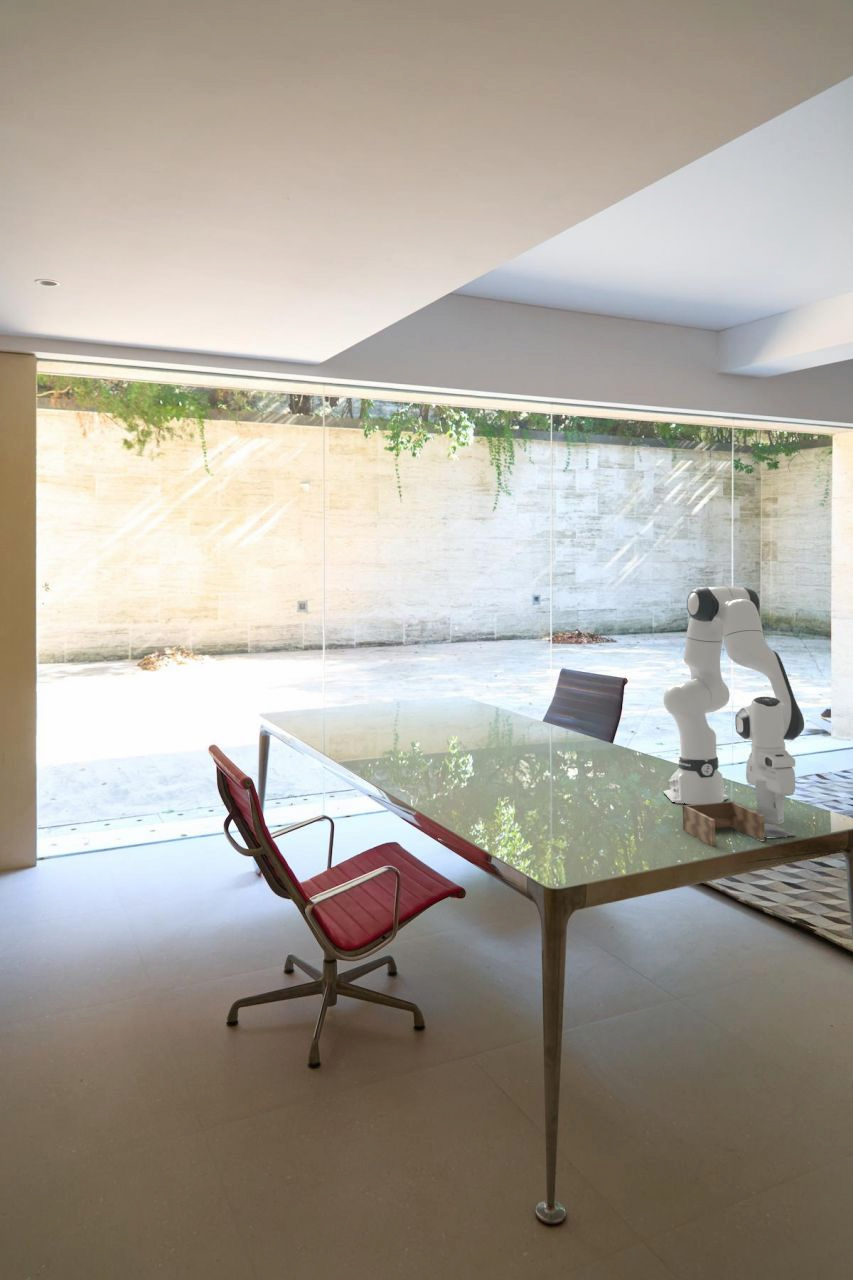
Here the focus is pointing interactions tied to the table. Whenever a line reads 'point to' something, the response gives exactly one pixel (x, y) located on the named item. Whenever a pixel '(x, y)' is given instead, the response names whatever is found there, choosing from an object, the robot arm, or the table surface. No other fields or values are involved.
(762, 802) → the skincare box
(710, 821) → the walnut u-shaped frame
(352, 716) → the table surface
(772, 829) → the charcoal mat
